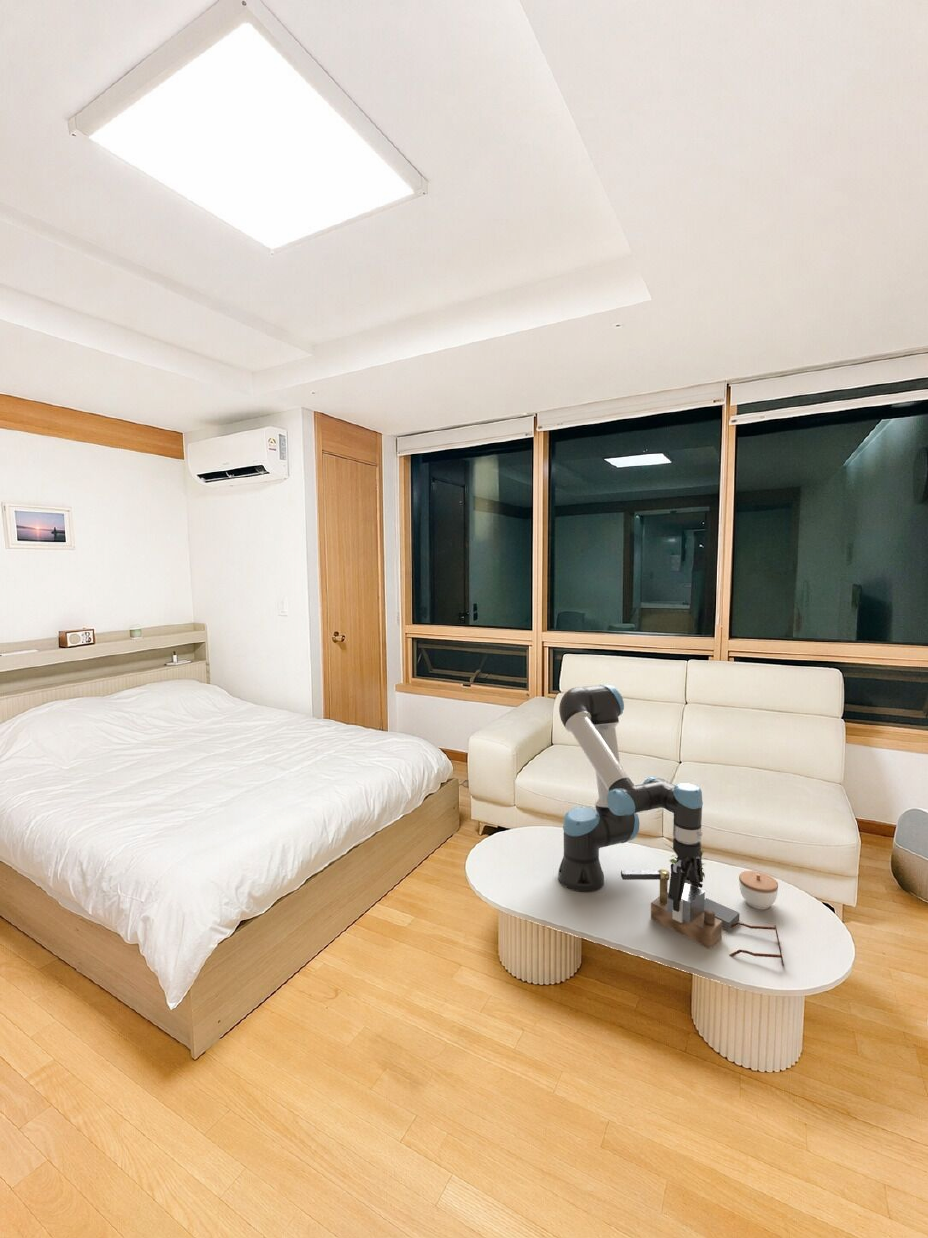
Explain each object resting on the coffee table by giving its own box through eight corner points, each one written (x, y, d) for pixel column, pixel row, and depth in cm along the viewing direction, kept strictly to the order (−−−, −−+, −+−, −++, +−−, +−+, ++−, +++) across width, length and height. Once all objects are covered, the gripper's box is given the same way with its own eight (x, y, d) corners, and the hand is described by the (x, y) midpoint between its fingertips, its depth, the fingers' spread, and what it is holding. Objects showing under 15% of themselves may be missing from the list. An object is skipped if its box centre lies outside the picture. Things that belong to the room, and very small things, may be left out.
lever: (667, 874, 167) (667, 869, 167) (671, 880, 164) (671, 875, 164) (620, 875, 167) (620, 869, 167) (623, 880, 164) (623, 875, 164)
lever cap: (666, 912, 161) (667, 892, 160) (681, 900, 166) (681, 881, 165) (690, 923, 155) (690, 903, 155) (704, 911, 161) (704, 891, 160)
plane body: (650, 918, 166) (651, 880, 165) (663, 909, 170) (663, 871, 169) (710, 949, 152) (711, 907, 151) (721, 937, 156) (722, 897, 155)
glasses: (784, 970, 144) (785, 952, 144) (729, 957, 149) (729, 940, 149) (778, 939, 156) (778, 923, 156) (727, 928, 161) (727, 912, 161)
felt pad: (695, 915, 167) (695, 907, 167) (706, 905, 171) (706, 898, 171) (728, 931, 159) (729, 922, 159) (739, 921, 164) (739, 913, 164)
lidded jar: (772, 918, 165) (773, 888, 164) (733, 904, 172) (734, 875, 171) (781, 902, 173) (782, 874, 172) (744, 889, 180) (745, 862, 179)
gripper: (680, 856, 149) (679, 936, 151) (717, 831, 163) (715, 905, 165) (655, 846, 155) (654, 923, 157) (692, 823, 168) (691, 894, 170)
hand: (685, 913), depth 161 cm, fingers closed on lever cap, 8 cm apart
